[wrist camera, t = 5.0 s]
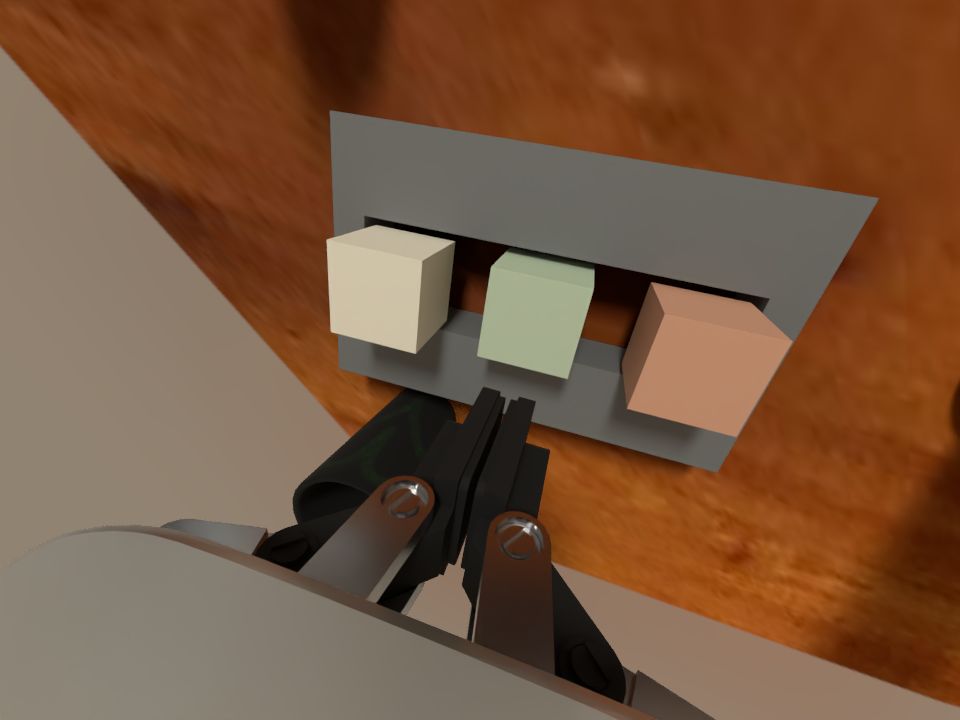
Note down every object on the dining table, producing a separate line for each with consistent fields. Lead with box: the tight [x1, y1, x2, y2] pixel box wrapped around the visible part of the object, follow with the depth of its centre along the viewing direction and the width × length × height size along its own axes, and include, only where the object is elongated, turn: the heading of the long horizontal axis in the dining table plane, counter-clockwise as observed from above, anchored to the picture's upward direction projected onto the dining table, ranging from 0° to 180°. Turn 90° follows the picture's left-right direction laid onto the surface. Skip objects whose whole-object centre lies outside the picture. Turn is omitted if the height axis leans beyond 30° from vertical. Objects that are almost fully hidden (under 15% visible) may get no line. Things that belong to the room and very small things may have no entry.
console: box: [330, 110, 879, 473], centre depth 24 cm, size 26×16×4 cm, turn 82°
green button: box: [477, 247, 595, 379], centre depth 22 cm, size 5×5×5 cm
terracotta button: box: [622, 282, 793, 437], centre depth 20 cm, size 5×5×5 cm
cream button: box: [327, 225, 455, 354], centre depth 22 cm, size 5×5×5 cm
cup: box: [293, 388, 456, 524], centre depth 29 cm, size 8×8×12 cm
